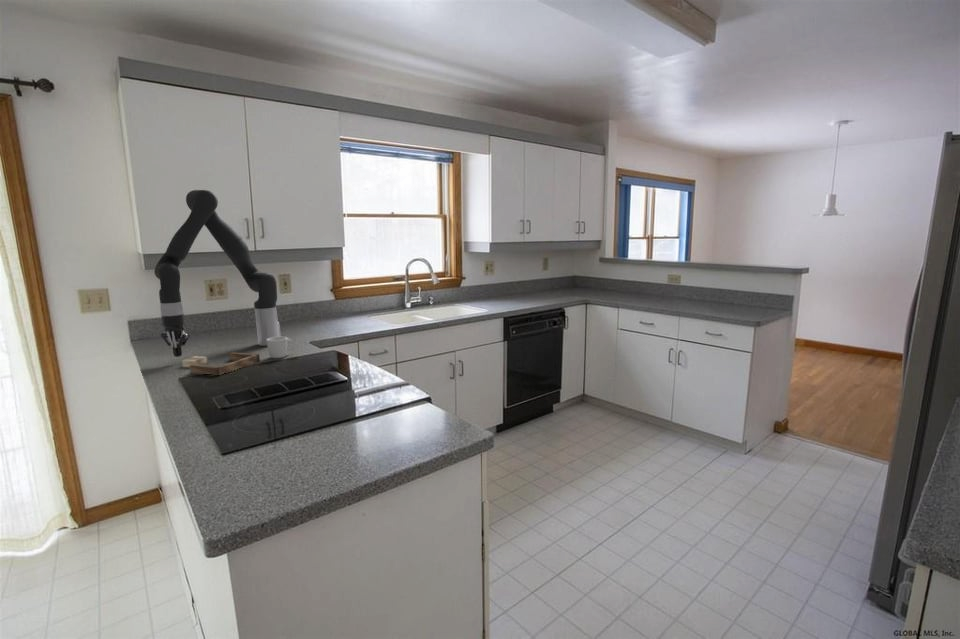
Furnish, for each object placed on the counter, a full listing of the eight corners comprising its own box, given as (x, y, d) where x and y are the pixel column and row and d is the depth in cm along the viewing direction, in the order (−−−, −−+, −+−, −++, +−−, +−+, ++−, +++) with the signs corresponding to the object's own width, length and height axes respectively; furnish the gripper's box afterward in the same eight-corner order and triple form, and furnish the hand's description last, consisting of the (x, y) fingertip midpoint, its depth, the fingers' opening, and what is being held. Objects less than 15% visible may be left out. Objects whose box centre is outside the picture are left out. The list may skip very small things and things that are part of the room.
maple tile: (195, 363, 196) (194, 356, 196) (207, 364, 195) (206, 356, 194) (183, 367, 191) (181, 360, 190) (195, 368, 189) (194, 360, 188)
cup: (286, 352, 209) (284, 334, 208) (298, 354, 205) (296, 336, 204) (264, 358, 200) (262, 339, 199) (276, 360, 196) (274, 341, 195)
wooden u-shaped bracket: (232, 359, 200) (231, 352, 199) (260, 361, 195) (259, 354, 195) (190, 373, 181) (189, 365, 181) (219, 376, 177) (218, 368, 176)
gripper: (193, 312, 193) (198, 354, 196) (168, 311, 197) (173, 353, 200) (176, 315, 186) (182, 359, 189) (151, 314, 190) (157, 357, 193)
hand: (177, 356), depth 195 cm, fingers closed
